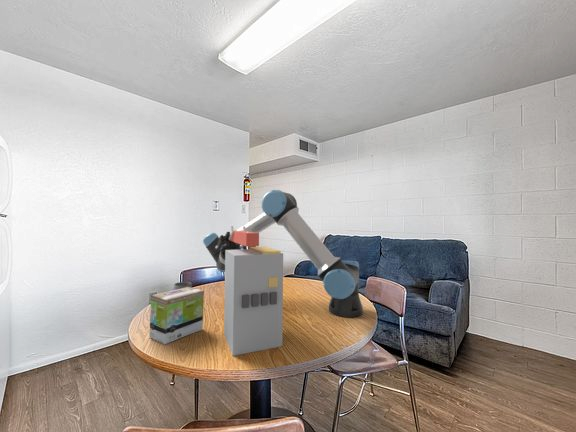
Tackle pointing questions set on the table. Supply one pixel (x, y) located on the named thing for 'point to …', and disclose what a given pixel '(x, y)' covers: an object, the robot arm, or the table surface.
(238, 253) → the breaker panel
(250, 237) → the bar
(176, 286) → the cup
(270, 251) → the ochre pad
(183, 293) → the tea box
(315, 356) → the table surface
